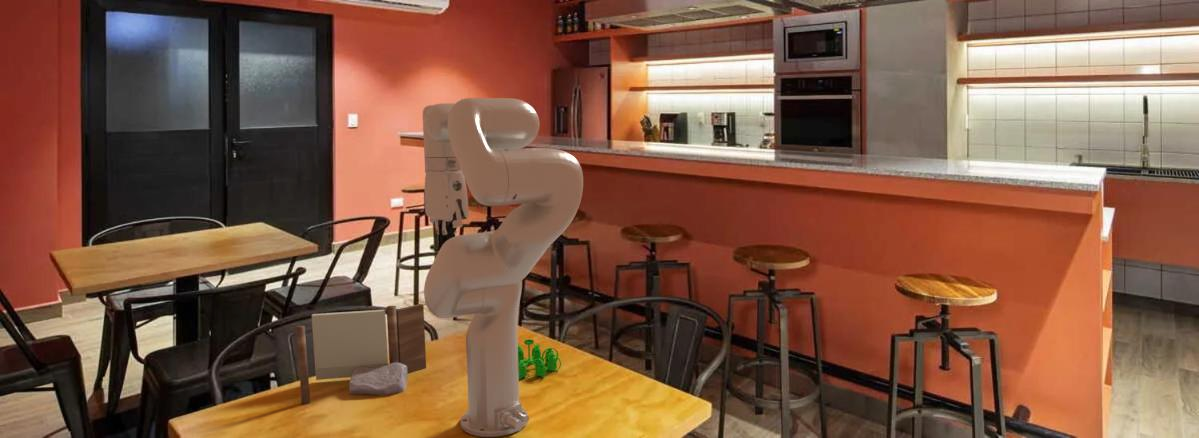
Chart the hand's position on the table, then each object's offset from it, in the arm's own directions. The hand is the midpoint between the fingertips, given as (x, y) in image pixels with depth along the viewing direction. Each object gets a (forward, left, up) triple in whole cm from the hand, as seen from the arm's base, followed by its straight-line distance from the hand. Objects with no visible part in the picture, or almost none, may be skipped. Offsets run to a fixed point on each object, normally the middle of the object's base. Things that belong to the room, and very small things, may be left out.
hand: (446, 252), depth 145 cm
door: (+18, +14, -28) cm, 36 cm away
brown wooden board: (+13, +13, -29) cm, 34 cm away
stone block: (+10, +12, -30) cm, 33 cm away
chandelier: (-5, -17, -30) cm, 35 cm away
